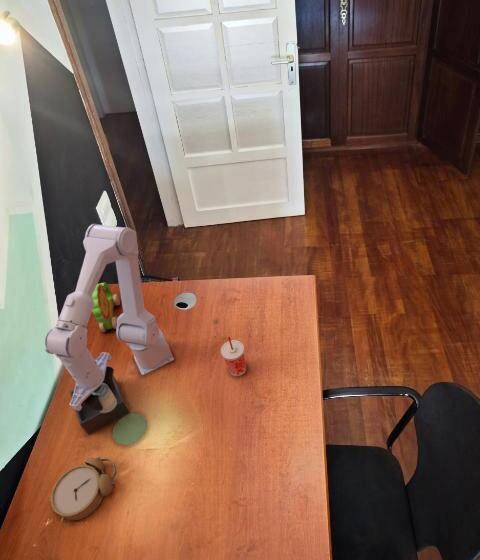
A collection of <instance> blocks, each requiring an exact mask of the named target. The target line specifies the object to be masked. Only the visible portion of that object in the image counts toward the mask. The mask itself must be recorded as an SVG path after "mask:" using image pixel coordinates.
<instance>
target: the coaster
mask: <svg viewBox="0 0 480 560" xmlns="http://www.w3.org/2000/svg"><path fill="white" fill-rule="evenodd" d="M147 426H148V422H147V419H146V418H145V416H143V415H142V414H140V413H135V412H134V413H127V414H126V415H124V416H122V417H120V418H119V419H118V421H116V423H115V424H114V426H113V429H112V439H113V441H114V442H115V443H116V444H118V445H120V446H129V445H132V444H135V443H137V442H138V441H139V440H140V439H142V437H143V436H144V434H146V432H147Z"/></svg>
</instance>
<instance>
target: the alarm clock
mask: <svg viewBox="0 0 480 560" xmlns="http://www.w3.org/2000/svg"><path fill="white" fill-rule="evenodd" d="M103 462H110V463H111V464H112V466H113V472H112V476H110V475H109V474H107V473H105V472H104V469H105V465H104V463H103ZM95 468H97V469H98V470H100V471H98V470H96V469H95ZM117 471H118V470H117V466H116V464H115V462H114V461H112V459H110V458H105V457H103V458H101V457H100V456H98V457H89V458H87V459H86V460H85V461H84V464H78V465H75V466H71V467H70V468H69V469H67V470H65V471H64V472H63V473H62V474H61V475H60V476H59V477H58V478H57V480H56V481H55V483H54V485H53V487H52V489H51V492H50V495H49V496H48V498H49V501H50V505H51V508H52V510H53V512H54V513H55V514H57V515H59V516H61V519H60V524H62V523H64V521H65V520H67V521H79V520H82V519H85V518H87V516H89V515H91V514H92V513H93V512H94V511H95V510H96V509H97V508H98V507H99V505H100V503H101V502H102V501H103V498H104V497H106V496H108V495H110V493H111V492H112V491H113V489H114V485H115V482H114V480H115V478H116V476H117Z"/></svg>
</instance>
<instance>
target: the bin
mask: <svg viewBox="0 0 480 560" xmlns="http://www.w3.org/2000/svg"><path fill="white" fill-rule="evenodd" d="M113 388H114V390H113V392H112V393H113V394H114V396H115V398H116V400H117V404H116V406H115V408H114V409H113V410H112V411H110V412H107V413H102V412H100V411H98V410H94V409H93V408H92V407H90V406H88V405H86V404H84V403H82V404H81V406H82V408H81V410H80V411H78V410H75V412H76V416H77V419H78V423H79V425H80V426H81V428H82V429H83V430H84V431H85V433H86V434H87V435H90V434H91V433H93V432H96V431H97V430H99V429H101V428H103V427H104V426H107V425H109V424H111V423H113V422H114V421H116V420H119V419H121V418H122V417H124V416H126V415H128V414H130V409H129V407H128V404H127V402H126V400H125V397H124V394H123V392H122V390H121V387H120V385H119V382H118V380H117V379H116V378H115V375H113ZM73 393H74V389H72V390H71V391H69V394H70V396H71V398H72V397H73Z"/></svg>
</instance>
